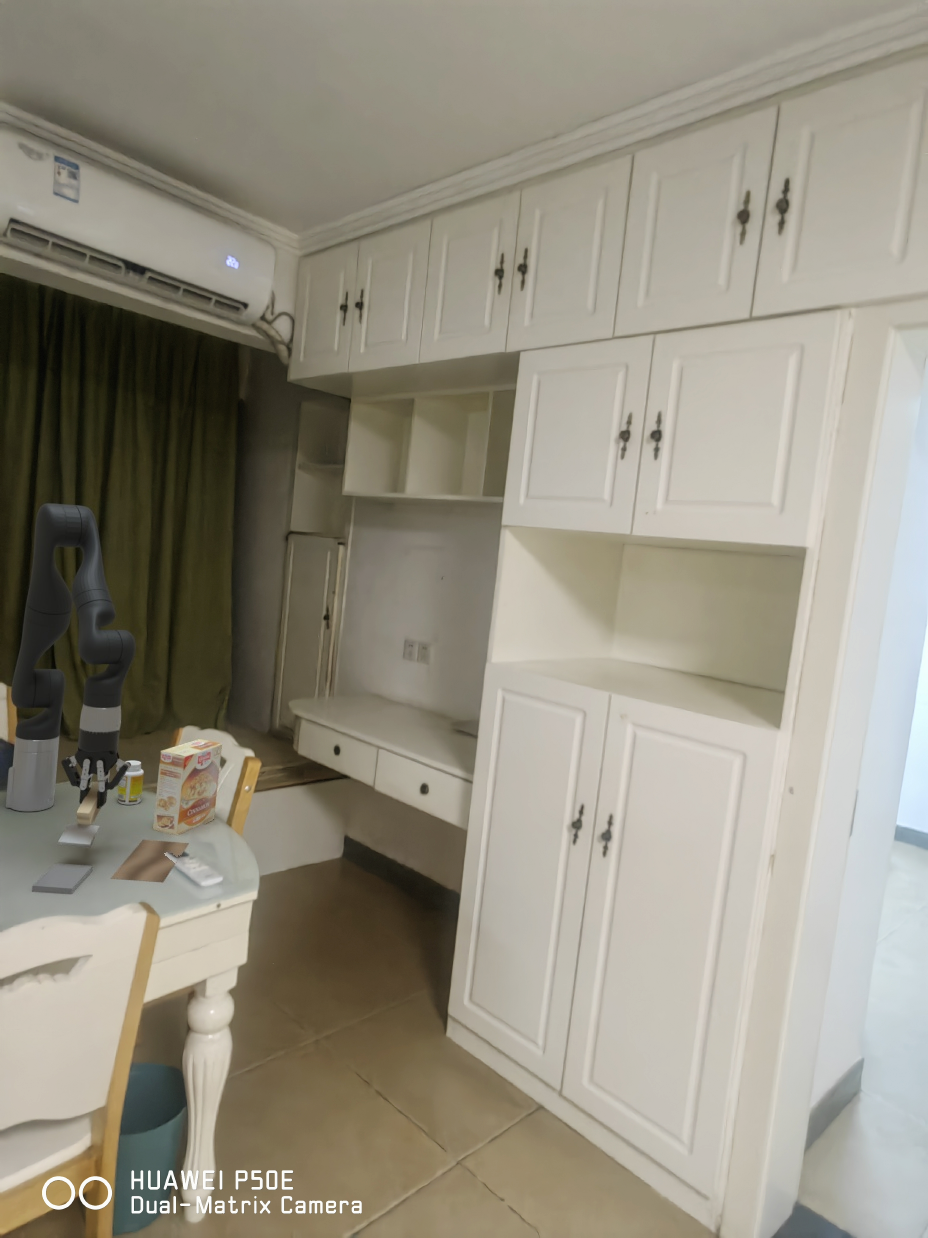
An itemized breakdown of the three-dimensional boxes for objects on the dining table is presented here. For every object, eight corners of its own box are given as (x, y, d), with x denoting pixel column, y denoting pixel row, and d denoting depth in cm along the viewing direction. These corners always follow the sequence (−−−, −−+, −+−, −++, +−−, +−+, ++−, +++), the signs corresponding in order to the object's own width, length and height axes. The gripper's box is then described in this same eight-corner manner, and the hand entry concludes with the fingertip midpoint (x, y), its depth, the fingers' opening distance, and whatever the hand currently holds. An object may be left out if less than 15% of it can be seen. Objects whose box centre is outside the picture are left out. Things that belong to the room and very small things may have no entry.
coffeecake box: (177, 839, 172) (185, 756, 170) (150, 832, 173) (158, 750, 172) (215, 819, 186) (223, 743, 184) (191, 813, 188) (198, 737, 186)
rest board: (110, 882, 147) (110, 878, 147) (142, 843, 167) (142, 839, 167) (162, 886, 148) (162, 882, 148) (188, 846, 168) (189, 843, 168)
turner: (90, 847, 149) (88, 833, 147) (58, 844, 148) (56, 830, 146) (115, 797, 161) (114, 783, 159) (86, 794, 160) (84, 780, 158)
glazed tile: (54, 874, 149) (31, 897, 139) (55, 863, 148) (32, 885, 139) (91, 877, 149) (70, 900, 140) (92, 866, 149) (72, 888, 139)
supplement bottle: (144, 799, 194) (147, 760, 193) (136, 806, 188) (140, 766, 187) (121, 797, 193) (125, 758, 192) (113, 804, 188) (117, 764, 187)
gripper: (56, 726, 150) (49, 810, 151) (128, 733, 151) (120, 816, 153) (72, 717, 157) (65, 797, 159) (140, 724, 159) (133, 803, 160)
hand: (92, 806), depth 156 cm, fingers closed on turner, 2 cm apart
